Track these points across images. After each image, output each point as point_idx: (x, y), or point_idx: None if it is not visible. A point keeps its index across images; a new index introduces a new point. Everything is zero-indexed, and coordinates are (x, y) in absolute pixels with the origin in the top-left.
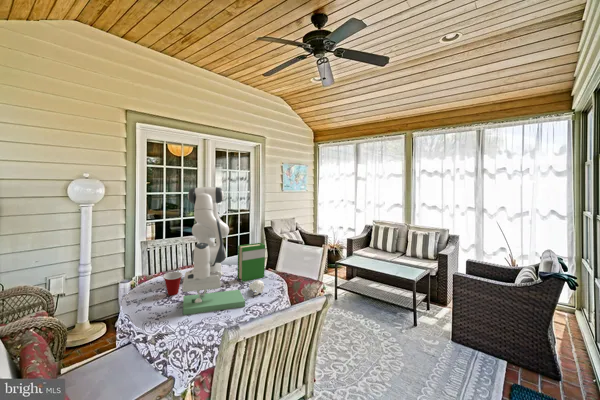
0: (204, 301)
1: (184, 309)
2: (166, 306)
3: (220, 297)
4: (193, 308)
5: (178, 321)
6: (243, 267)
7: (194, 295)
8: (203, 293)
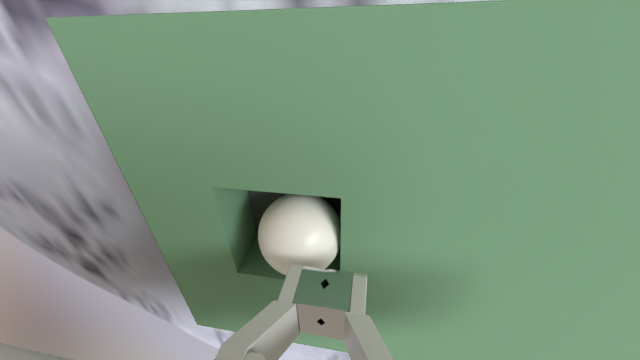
0: None
1: (206, 323)
2: (23, 113)
3: (608, 271)
4: None
5: None
6: None
7: (219, 54)
8: (346, 331)
